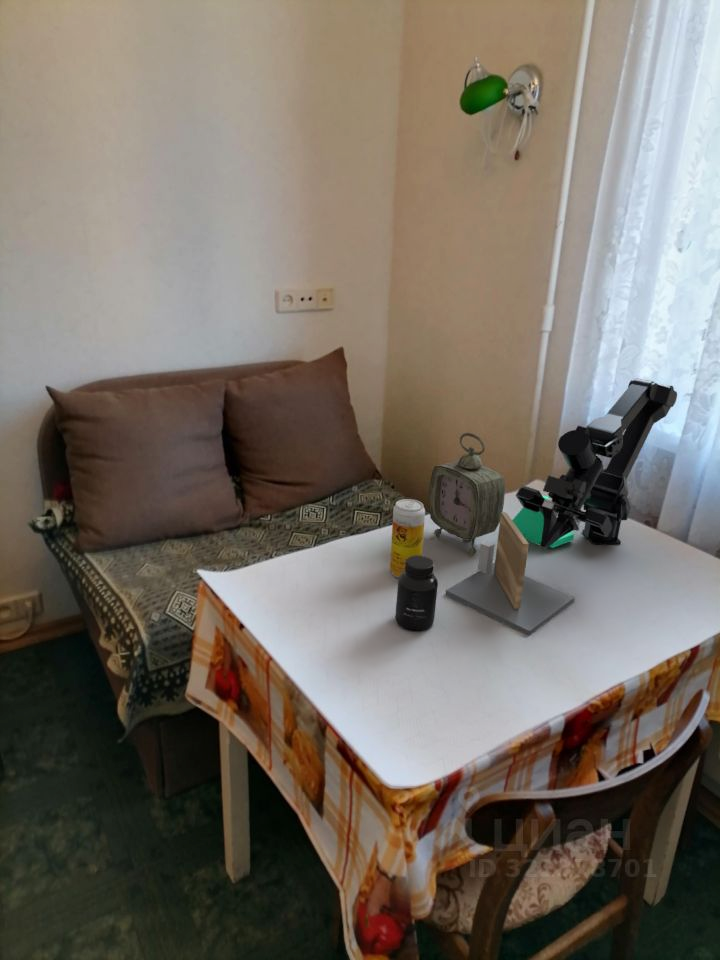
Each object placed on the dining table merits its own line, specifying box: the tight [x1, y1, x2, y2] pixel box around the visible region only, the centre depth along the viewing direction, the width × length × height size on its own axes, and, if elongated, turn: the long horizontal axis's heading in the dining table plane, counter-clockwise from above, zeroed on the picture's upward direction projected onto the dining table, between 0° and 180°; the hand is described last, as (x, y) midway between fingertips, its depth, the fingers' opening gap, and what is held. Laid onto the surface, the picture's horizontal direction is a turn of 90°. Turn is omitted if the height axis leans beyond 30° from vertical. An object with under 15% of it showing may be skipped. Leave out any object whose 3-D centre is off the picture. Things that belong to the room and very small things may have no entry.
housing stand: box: [445, 540, 576, 637], centre depth 124 cm, size 16×18×7 cm
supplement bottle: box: [395, 555, 439, 633], centre depth 115 cm, size 7×7×12 cm
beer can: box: [389, 498, 426, 579], centre depth 130 cm, size 6×6×15 cm
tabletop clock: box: [428, 432, 506, 556], centre depth 142 cm, size 14×9×25 cm, turn 36°
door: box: [494, 511, 530, 609], centre depth 123 cm, size 1×13×13 cm, turn 5°
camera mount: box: [512, 495, 575, 549], centre depth 148 cm, size 12×8×10 cm, turn 35°
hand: (543, 547), depth 130 cm, fingers closed
